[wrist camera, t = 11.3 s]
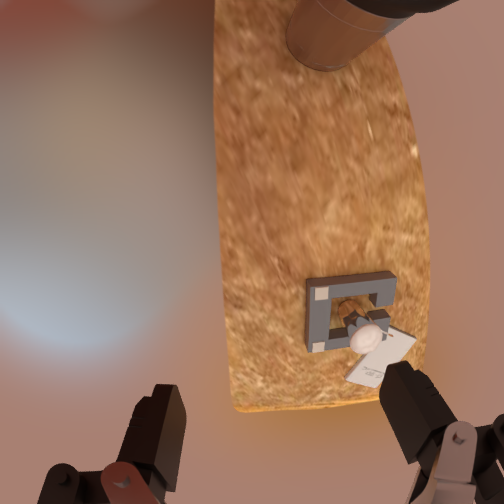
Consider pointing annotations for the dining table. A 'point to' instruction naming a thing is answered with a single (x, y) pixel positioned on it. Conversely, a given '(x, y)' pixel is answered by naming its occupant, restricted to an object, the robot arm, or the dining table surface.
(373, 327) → the milkshake
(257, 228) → the dining table surface
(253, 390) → the dining table surface
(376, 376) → the external hard drive
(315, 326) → the frame
